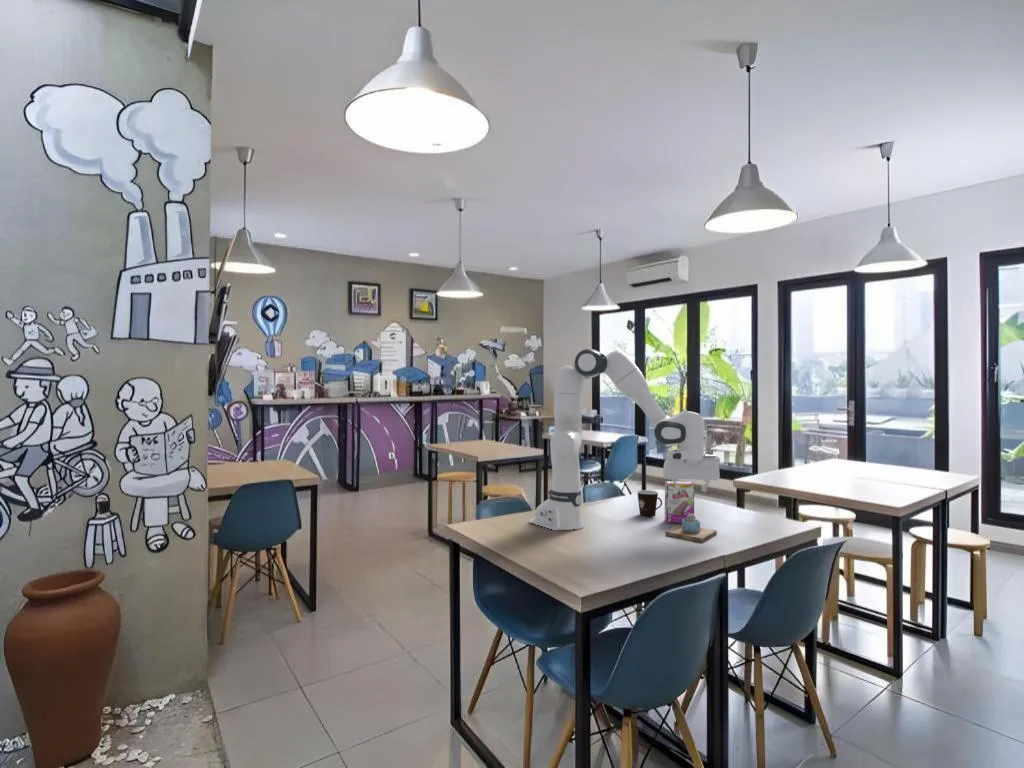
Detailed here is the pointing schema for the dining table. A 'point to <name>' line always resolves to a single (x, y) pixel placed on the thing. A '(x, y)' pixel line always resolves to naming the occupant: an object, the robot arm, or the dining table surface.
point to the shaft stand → (698, 537)
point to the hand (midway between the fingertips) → (690, 491)
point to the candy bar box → (678, 501)
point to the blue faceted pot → (690, 526)
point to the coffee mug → (648, 502)
